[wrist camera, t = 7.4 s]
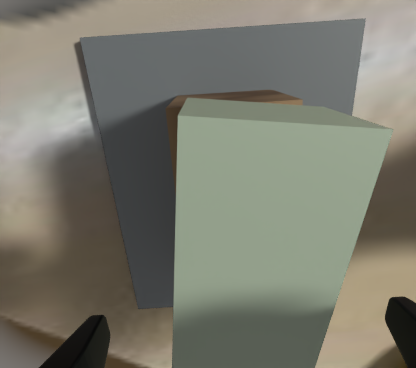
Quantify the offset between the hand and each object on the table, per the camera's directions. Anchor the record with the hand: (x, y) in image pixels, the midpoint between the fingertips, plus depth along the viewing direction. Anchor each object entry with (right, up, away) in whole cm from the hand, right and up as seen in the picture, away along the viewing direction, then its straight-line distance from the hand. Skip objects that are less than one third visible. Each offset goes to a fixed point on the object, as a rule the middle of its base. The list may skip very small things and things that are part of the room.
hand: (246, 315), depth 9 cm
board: (0, +4, +9) cm, 10 cm away
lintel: (0, +2, +4) cm, 4 cm away
